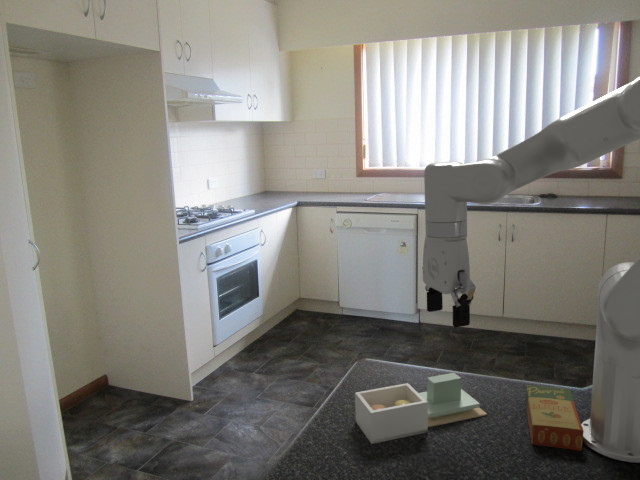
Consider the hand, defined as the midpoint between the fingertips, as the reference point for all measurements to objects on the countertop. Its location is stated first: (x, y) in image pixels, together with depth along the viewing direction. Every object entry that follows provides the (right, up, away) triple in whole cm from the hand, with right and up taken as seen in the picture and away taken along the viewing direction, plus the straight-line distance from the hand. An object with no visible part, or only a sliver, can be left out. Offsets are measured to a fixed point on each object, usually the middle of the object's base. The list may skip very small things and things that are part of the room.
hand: (447, 317), depth 101 cm
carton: (+19, -20, -3) cm, 27 cm away
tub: (-11, -20, -2) cm, 23 cm away
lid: (0, -17, +4) cm, 18 cm away
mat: (0, -19, +4) cm, 19 cm away
